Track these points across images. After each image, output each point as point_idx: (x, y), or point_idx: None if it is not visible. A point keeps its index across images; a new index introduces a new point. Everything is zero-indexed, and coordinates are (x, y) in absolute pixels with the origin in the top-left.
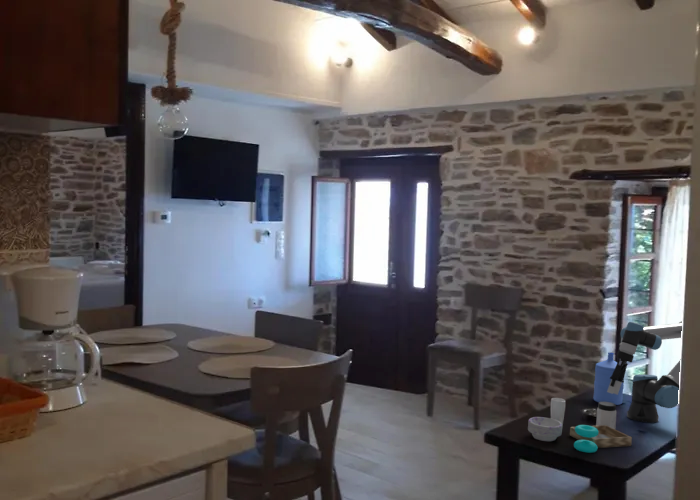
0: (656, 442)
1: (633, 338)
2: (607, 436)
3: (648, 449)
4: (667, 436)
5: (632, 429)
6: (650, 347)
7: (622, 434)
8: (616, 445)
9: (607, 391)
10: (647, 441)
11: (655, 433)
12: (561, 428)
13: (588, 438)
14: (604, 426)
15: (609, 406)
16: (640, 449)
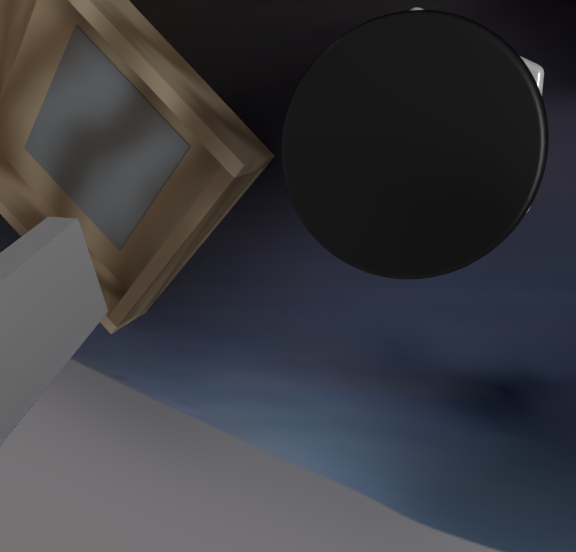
0: (294, 441)
1: None
2: (172, 183)
3: (155, 384)
4: (470, 530)
5: (523, 340)
6: None
7: (133, 284)
8: None
9: (42, 228)
10: (279, 399)
11: (503, 478)
12: None
13: None
14: (216, 154)
15: (293, 202)
16: (129, 350)
